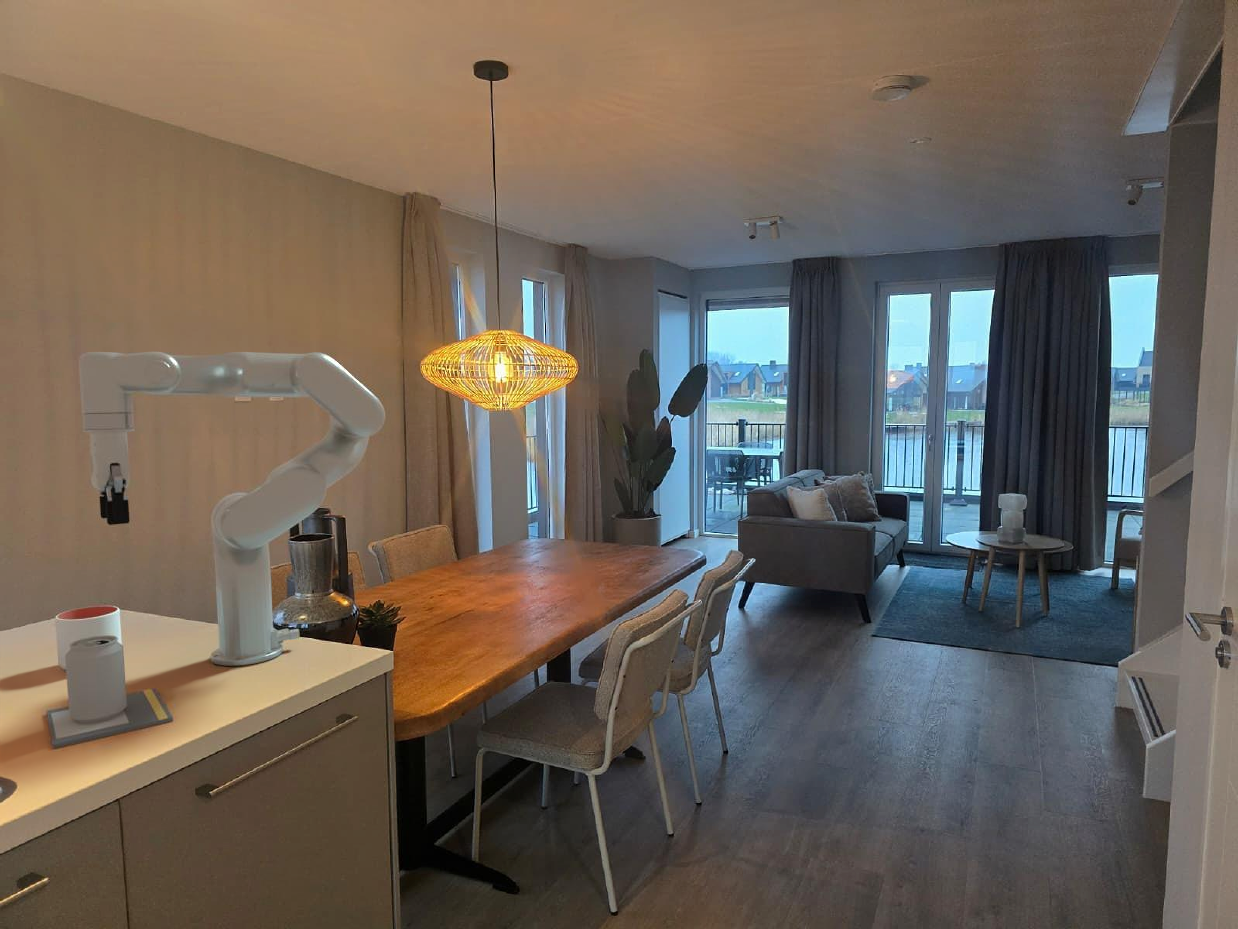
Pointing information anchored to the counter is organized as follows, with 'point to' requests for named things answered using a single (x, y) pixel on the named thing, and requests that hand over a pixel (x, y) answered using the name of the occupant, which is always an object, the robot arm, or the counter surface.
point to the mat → (138, 714)
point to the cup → (85, 627)
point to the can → (95, 679)
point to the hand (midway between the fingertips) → (114, 520)
